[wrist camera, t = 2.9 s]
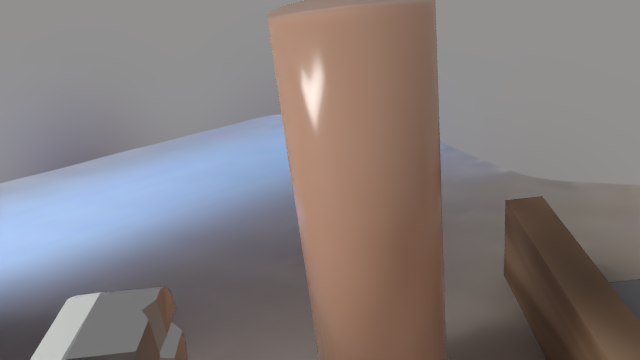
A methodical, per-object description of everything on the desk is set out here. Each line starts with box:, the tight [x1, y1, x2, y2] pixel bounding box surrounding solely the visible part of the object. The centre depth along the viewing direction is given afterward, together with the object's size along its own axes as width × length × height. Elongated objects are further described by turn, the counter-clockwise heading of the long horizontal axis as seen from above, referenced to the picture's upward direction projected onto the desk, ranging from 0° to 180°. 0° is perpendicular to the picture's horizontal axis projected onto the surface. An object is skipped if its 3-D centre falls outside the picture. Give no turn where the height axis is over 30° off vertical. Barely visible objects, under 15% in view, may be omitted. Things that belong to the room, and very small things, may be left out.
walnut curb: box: [504, 196, 640, 360], centre depth 26 cm, size 2×18×5 cm, turn 1°
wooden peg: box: [267, 0, 447, 360], centre depth 23 cm, size 6×6×18 cm
